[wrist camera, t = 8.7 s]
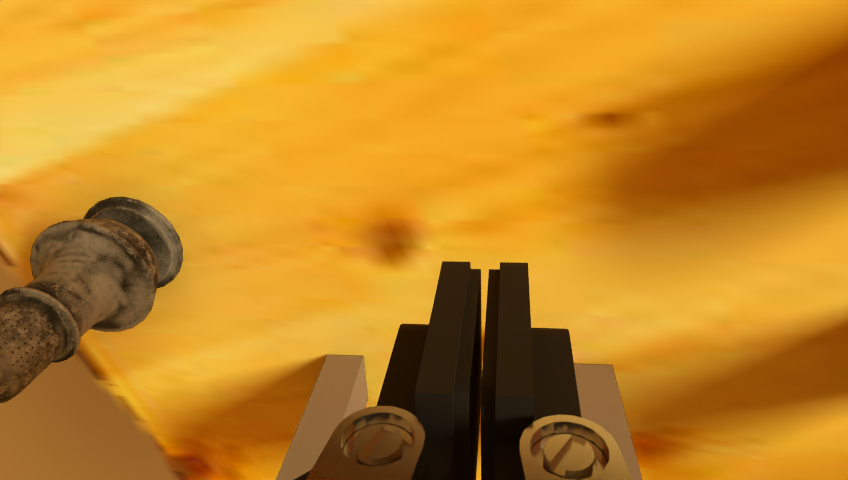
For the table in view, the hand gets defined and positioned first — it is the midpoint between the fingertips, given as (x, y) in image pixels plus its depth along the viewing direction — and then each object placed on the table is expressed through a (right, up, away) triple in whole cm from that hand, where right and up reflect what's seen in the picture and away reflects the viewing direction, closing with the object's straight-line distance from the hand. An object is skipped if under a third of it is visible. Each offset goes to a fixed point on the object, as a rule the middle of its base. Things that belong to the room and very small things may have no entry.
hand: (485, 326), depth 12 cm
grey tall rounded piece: (-16, +2, +19) cm, 25 cm away
